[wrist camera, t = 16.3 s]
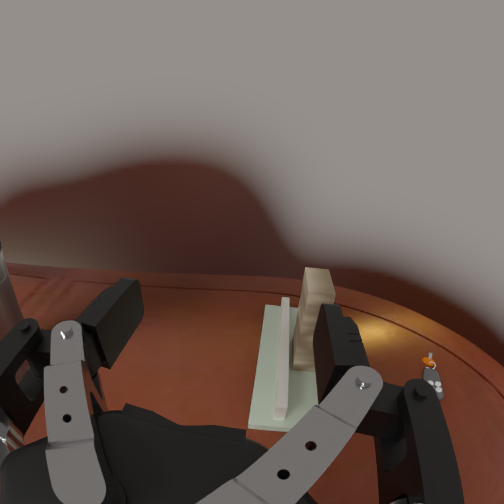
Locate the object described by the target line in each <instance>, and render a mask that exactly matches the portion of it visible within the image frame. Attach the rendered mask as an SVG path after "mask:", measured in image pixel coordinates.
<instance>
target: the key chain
mask: <svg viewBox="0 0 504 504" xmlns="http://www.w3.org/2000/svg"><path fill="white" fill-rule="evenodd" d="M432 354H433V353H432ZM432 354H430V353H429V357H424V358H423V359H422V361H423V362H424V363H425V364H427V365H429V366H433V365H434V368H433V369H430V368H428V367H426V368H425V369H424V371H423V375H422V377H423V380H425V381H427V382H428V383H430V384H431V385H432V386H433V387H434V389H435V391H436V394H437V396H438V399H439V400H441V399H443V397H444V392H443V388H442V383H441V380H440V376H439V373H438V372H437V371H436V370H435V367H436V364H435V361H434V360H432V359H431V358H432Z"/></svg>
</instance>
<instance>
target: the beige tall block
mask: <svg viewBox="0 0 504 504" xmlns="http://www.w3.org/2000/svg"><path fill="white" fill-rule="evenodd" d="M335 296H336V293H335V290H334V286H333V283H332V279H331V276H330V273H329V270H326V269H317V268H307V267H305V272H304V278H303V284H302V290H301V296H300V302H299V307H298V313H297V318H296V324H295V329H294V334H293V339H292V370H297V371H313V372H315V363H314V353H313V334H314V329H315V326H316V322H317V318H318V314H319V310H320V306H321V304H322V303H325V304H334V300H335Z"/></svg>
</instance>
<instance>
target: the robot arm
mask: <svg viewBox="0 0 504 504" xmlns="http://www.w3.org/2000/svg"><path fill="white" fill-rule="evenodd" d="M143 313H144V307H143V301H142V295H141V288H140V283H139V281H138V280H136V279H130V278H124V277H123V278H121V279H120V280H119V281H118V282H117V283H116V284H115V285H114V286H111V287H109V288H107V289H105V290H104V291H102V292H101V293H100V294H99V295H98V296H97V299H95V300H94V301H93V302H92V304H90V305H89V306H88V307H87V308H86V309H85V310H84V311H83V313H82V314H81V315H80V316H79V317H78V318H77V319H76V320H75V321H63V322H61V323H59V324H57V325H56V326H55V327H54V328H53V330H42V329H40V327H39V325H38V322H37V321H36V320H35V319H32V318H27V319H24V317H23V315H22V312H21V310H20V307H19V304H18V302H17V299H16V296H15V293H14V290H13V287H12V284H11V280H10V277H9V274H8V270H7V267H6V263H5V260H4V256H3V251H2V247H1V242H0V504H318V503H317V502H316V501H315V500H314V499H313V498H312V497H311V496H310V495H309V494H308V493H307V491H308V490H309V488H310V487H311V486H312V485H313V484H314V483H315V482H316V481H317V479H318V478H319V477H320V476H321V475H322V474H323V472H324V471H325V470H326V469H327V468H328V466H329V465H330V464H331V463H332V462H333V460H334V459H335V458H336V456H337V455H338V454H339V453H340V451H341V450H342V449H343V447H344V446H345V445H346V443H347V442H348V440H349V439H350V438H351V436H352V435H353V433H354V432H357V433H361V434H365V435H370V436H374V442H375V451H376V461H377V473H378V488H379V504H464V497H463V491H462V486H461V480H460V475H459V470H458V466H457V462H456V457H455V453H454V449H453V445H452V442H451V438H450V434H449V431H448V427H447V424H446V421H445V418H444V414H443V411H442V408H441V405H440V402H439V399H438V396H437V394H436V391H435V389H434V387H433V386H432V385H431V384H430V383H428V382H427V381H425V380H422V379H412V380H409V381H408V382H407V383H406V384H405V386H404V387H401V386H397V385H392V384H388V383H385V382H383V380H382V377H381V376H380V374H379V373H378V372H377V371H375V370H374V369H372V368H370V365H369V362H368V359H367V355H366V352H365V349H364V346H363V342H362V339H361V336H360V333H359V330H358V327H357V325H356V323H355V322H354V321H353V320H352V319H351V318H350V317H343V315H342V311H341V308H340V305H337V304H325V303H322V304H321V306H320V310H319V314H318V318H317V322H316V326H315V329H314V334H313V353H314V363H315V373H316V384H317V396H318V405H314V406H313V407H312V408H311V409H310V410H309V411H308V412H307V413H306V414H305V415H304V416H303V417H302V418H301V419H300V420H299V421H298V423H297V424H296V425H295V426H294V427H293V428H292V429H291V430H290V431H289V432H287V433H286V434H285V435H284V436H283V437H282V438H281V439H280V440H279V441H278V442H277V443H276V444H275V445H274V446H273V447H272V448H271V449H268V448H266V447H265V446H263V445H261V444H260V443H258V442H256V441H253V440H251V439H248V438H245V436H246V430H244V429H237V428H229V427H223V426H217V425H202V426H183V425H178V424H176V423H174V422H172V421H170V420H168V419H166V418H164V417H162V416H160V415H158V414H157V413H155V412H153V411H150V410H146V409H143V408H140V407H136V406H133V405H130V404H127V403H126V404H125V406H124V408H123V410H122V411H121V410H113V411H108V408H107V405H106V401H105V397H104V392H103V388H102V383H101V378H100V374H99V371H98V369H99V368H100V366H102V367H105V368H108V369H111V367H112V366H113V364H114V362H115V361H116V359H117V358H118V356H119V354H120V353H121V351H122V350H123V348H124V347H125V345H126V343H127V342H128V340H129V339H130V337H131V336H132V334H133V333H134V331H135V330H136V328H137V327H138V325H139V324H140V322H141V320H142V318H143ZM43 401H45V416H46V426H47V435H48V436H47V437H45V438H42V439H40V440H37V441H35V442H32V443H30V444H27V445H24V444H23V443H24V438H23V437H24V435H25V433H26V431H27V430H28V428H29V426H30V424H31V422H32V420H33V419H34V417H35V415H36V413H37V412H38V410H39V408H40V406H41V405H42V403H43Z"/></svg>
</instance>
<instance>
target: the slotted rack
mask: <svg viewBox="0 0 504 504" xmlns="http://www.w3.org/2000/svg"><path fill="white" fill-rule="evenodd" d="M297 313H298V308H294V307H289V298H287V297H282V301H281V306H274V305H265V312H264V320H263V327H262V334H261V341H260V349H259V356H258V363H257V369H256V376H255V383H254V390H253V396H252V403H251V409H250V416H249V422H248V428H250V429H259V430H270V431H282V432H289V431H290V430H291V429H292V428H293V427H294V426H295V425H296V424H297V423H298V421H299V420H300V419H301V418H302V417H303V416H304V415H305V414H306V413H307V412H308V411H309V410H310V409H311V408H312V407H313V406H314V405H318V396H317V384H316V373H315V372H313V371H297V370H292V339H293V334H294V329H295V324H296V318H297Z"/></svg>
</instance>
